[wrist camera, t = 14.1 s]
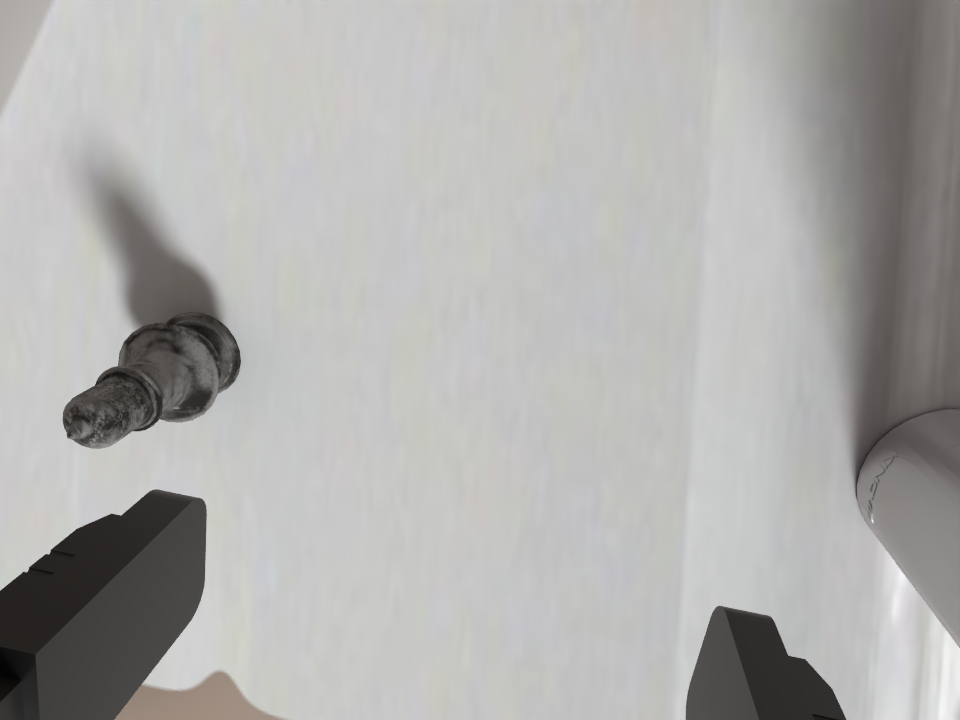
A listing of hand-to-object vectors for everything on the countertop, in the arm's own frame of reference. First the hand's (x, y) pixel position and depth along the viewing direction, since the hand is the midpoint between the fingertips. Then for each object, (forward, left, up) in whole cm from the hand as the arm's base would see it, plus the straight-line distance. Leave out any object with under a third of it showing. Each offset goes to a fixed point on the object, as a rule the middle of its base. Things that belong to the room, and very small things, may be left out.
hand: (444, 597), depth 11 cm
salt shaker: (+19, +9, -30) cm, 36 cm away
